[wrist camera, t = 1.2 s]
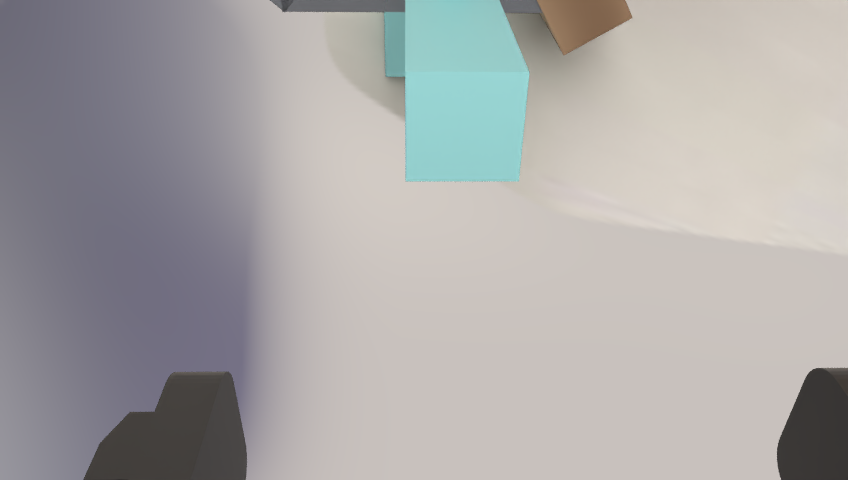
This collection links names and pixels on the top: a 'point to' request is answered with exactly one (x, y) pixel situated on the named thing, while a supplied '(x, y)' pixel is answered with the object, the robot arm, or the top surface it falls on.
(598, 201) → the top surface
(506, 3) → the wire
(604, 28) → the wood grain block
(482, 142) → the turquoise frame with handle
